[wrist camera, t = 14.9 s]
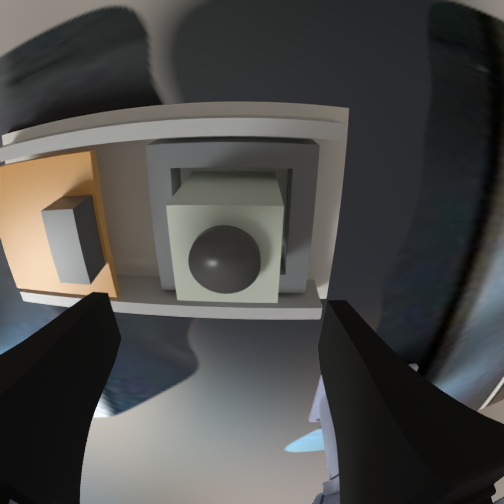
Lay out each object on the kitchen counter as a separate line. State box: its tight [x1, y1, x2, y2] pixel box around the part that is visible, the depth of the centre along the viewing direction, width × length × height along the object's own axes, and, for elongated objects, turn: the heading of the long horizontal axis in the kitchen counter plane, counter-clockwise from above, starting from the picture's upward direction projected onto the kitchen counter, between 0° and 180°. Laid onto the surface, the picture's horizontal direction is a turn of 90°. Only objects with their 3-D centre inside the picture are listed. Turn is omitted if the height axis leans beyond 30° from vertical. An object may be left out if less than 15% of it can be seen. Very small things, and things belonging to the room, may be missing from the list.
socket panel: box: [0, 102, 349, 319], centre depth 16 cm, size 22×12×4 cm, turn 89°
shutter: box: [0, 149, 120, 298], centre depth 14 cm, size 8×8×3 cm
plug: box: [166, 171, 284, 303], centre depth 15 cm, size 4×4×6 cm
